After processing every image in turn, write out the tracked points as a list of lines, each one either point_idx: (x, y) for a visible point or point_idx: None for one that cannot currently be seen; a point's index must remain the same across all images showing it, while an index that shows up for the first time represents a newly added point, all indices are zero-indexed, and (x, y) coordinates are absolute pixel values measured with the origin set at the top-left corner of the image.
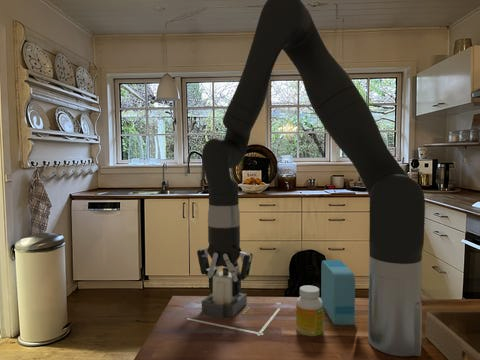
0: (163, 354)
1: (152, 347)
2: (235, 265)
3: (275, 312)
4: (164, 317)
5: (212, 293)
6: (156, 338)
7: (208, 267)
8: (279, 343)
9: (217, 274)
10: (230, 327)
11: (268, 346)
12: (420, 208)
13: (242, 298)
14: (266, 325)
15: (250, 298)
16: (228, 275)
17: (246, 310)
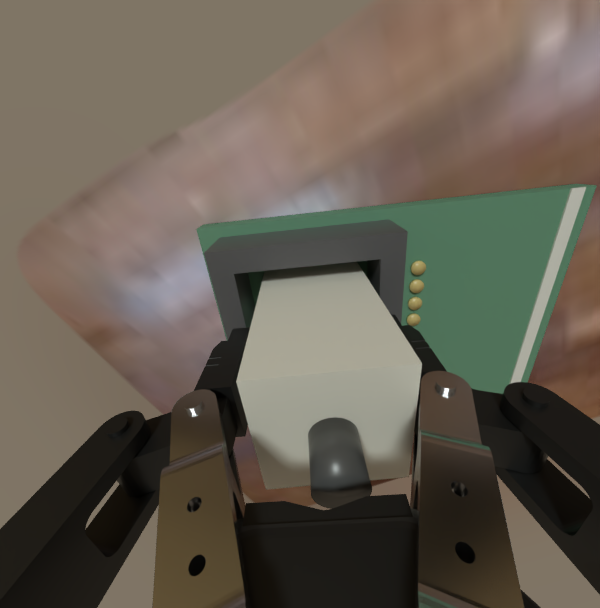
0: (305, 504)
1: (266, 499)
2: (452, 489)
3: (557, 244)
4: (161, 412)
5: (224, 317)
6: (243, 479)
7: (126, 461)
8: (560, 388)
9: (272, 458)
10: None
11: None
12: None
13: (402, 289)
14: (526, 358)
15: (350, 64)
16: (363, 438)
17: (417, 292)
